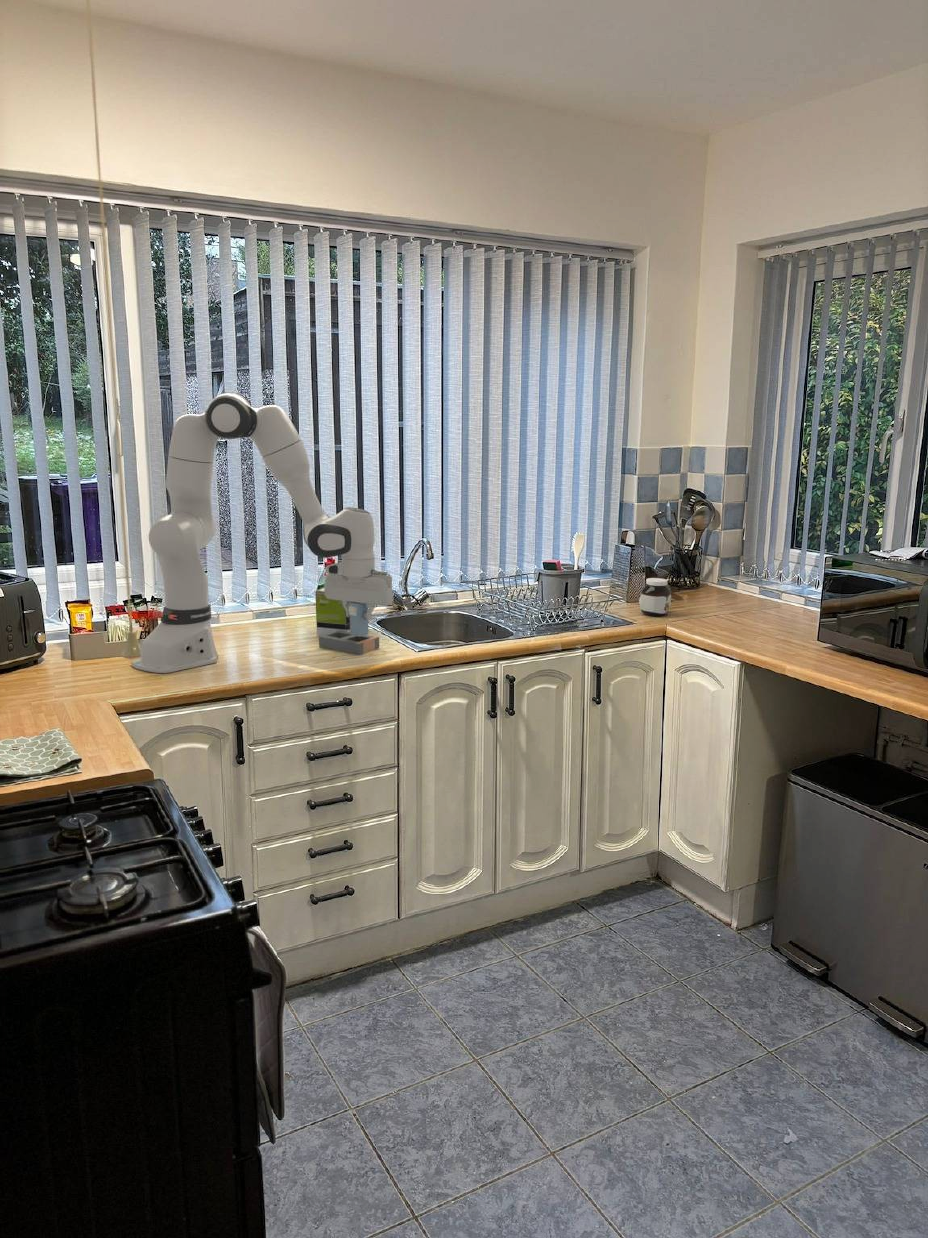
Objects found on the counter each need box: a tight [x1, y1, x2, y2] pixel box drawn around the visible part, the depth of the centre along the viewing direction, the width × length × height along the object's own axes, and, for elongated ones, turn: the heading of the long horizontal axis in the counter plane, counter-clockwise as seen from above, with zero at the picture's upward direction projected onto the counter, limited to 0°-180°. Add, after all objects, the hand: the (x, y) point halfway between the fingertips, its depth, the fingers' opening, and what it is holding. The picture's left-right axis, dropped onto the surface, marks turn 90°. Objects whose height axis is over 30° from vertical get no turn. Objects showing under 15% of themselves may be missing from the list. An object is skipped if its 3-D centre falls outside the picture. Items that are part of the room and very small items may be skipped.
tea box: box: [314, 587, 350, 637], centre depth 274 cm, size 15×10×15 cm
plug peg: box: [349, 602, 369, 637], centre depth 254 cm, size 4×4×9 cm
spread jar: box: [638, 577, 672, 618], centre depth 310 cm, size 12×11×12 cm
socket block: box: [318, 630, 380, 656], centre depth 258 cm, size 9×14×4 cm, turn 58°
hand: (358, 618), depth 254 cm, fingers closed on plug peg, 4 cm apart
